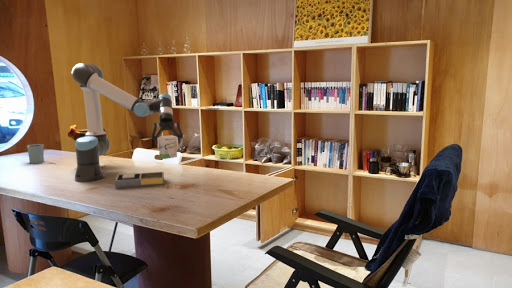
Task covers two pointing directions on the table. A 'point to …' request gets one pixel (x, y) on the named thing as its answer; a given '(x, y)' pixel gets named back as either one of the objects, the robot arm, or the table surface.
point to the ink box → (167, 146)
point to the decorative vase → (79, 135)
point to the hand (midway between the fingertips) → (168, 148)
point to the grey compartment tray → (139, 180)
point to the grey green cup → (36, 153)
